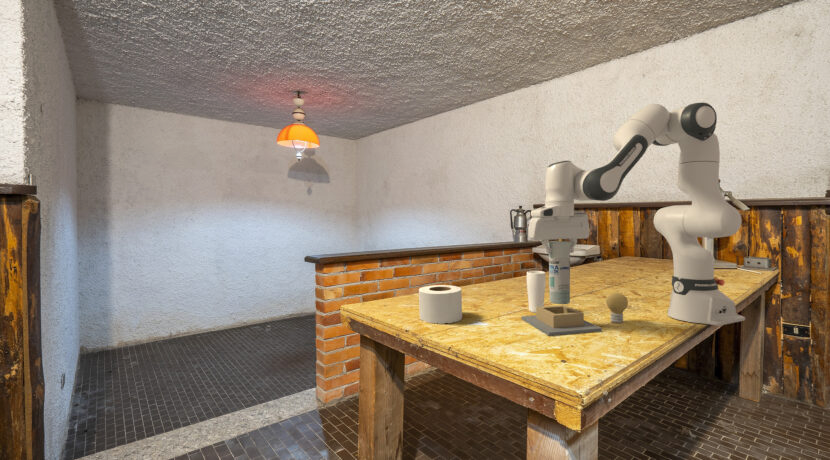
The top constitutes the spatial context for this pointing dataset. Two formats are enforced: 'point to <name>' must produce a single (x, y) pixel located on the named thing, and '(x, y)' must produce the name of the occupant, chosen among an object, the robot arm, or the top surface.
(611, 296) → the light bulb
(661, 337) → the top surface
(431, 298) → the toilet paper roll
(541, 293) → the drinking glass
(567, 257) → the spray paint can
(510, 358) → the top surface
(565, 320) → the socket
